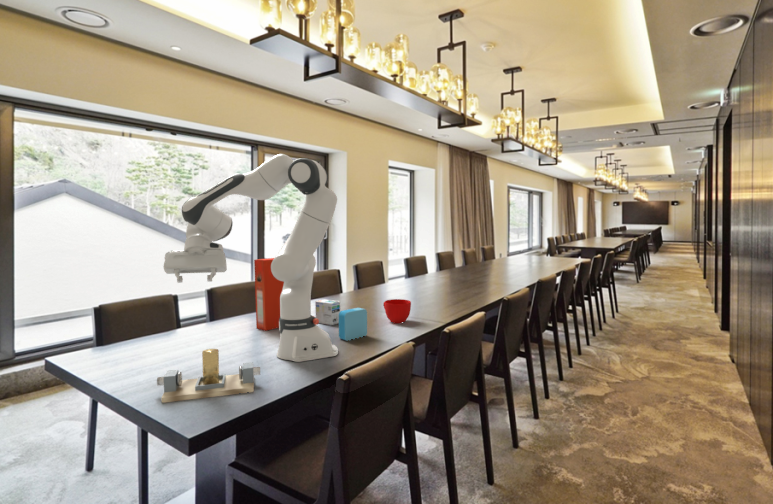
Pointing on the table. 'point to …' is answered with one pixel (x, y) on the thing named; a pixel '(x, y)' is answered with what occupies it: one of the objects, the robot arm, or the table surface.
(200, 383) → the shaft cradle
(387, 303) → the ceramic cup
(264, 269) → the file binder
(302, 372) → the table surface
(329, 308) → the light bulb box
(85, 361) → the table surface
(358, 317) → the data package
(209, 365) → the cylinder
